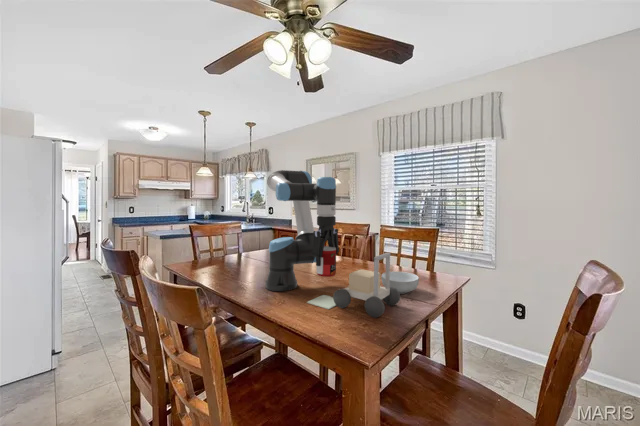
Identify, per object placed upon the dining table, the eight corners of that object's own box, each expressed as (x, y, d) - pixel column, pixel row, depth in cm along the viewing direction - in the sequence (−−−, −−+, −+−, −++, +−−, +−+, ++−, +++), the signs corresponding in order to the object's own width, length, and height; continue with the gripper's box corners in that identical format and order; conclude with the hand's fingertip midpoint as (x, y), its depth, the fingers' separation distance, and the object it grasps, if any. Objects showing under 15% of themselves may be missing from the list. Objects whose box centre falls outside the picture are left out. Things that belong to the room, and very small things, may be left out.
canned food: (334, 277, 108) (334, 249, 108) (314, 276, 110) (314, 248, 110) (337, 272, 116) (337, 246, 115) (318, 271, 118) (318, 245, 117)
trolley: (333, 305, 110) (333, 252, 109) (354, 294, 123) (355, 246, 122) (382, 319, 97) (383, 259, 96) (400, 305, 110) (401, 252, 109)
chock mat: (306, 302, 113) (306, 301, 113) (323, 295, 121) (323, 294, 121) (328, 309, 106) (328, 308, 106) (344, 301, 115) (344, 300, 115)
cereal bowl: (381, 284, 139) (381, 270, 138) (415, 286, 135) (416, 272, 135) (381, 295, 122) (381, 279, 122) (421, 298, 119) (421, 282, 118)
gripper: (317, 217, 102) (317, 278, 103) (347, 215, 118) (347, 268, 119) (302, 216, 106) (302, 275, 107) (333, 214, 122) (333, 265, 123)
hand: (326, 271), depth 113 cm, fingers closed on canned food, 8 cm apart
